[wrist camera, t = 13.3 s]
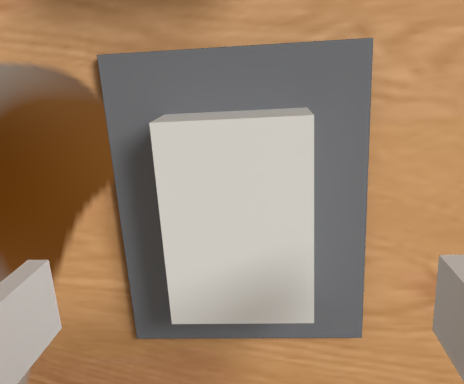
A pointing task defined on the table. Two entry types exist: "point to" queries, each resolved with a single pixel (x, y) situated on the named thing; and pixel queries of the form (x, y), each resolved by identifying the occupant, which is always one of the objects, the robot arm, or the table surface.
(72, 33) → the table surface
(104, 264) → the table surface
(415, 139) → the table surface
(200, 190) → the card box
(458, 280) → the robot arm
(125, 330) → the table surface
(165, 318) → the rubber mat
